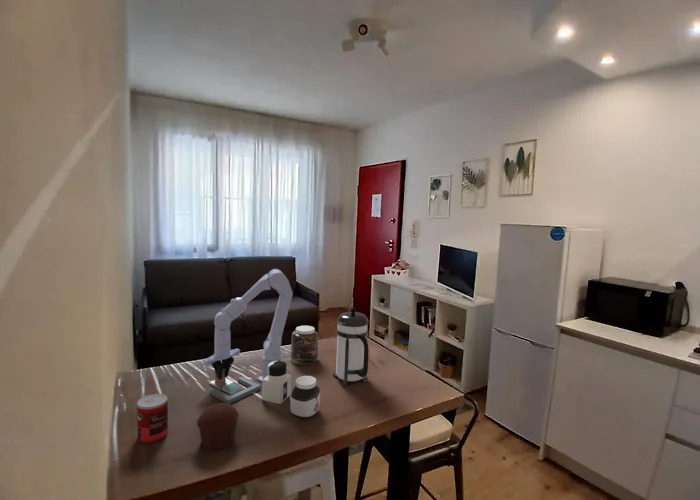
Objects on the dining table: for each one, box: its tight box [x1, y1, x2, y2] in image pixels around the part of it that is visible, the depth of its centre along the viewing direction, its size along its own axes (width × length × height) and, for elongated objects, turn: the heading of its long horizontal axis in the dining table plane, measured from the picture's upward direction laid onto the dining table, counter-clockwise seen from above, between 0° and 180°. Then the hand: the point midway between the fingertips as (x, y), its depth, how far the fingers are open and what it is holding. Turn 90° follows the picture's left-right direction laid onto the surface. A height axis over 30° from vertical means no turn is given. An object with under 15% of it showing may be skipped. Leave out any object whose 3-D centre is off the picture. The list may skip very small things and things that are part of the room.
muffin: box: [196, 402, 240, 451], centre depth 102 cm, size 12×11×10 cm
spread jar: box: [289, 375, 321, 420], centre depth 119 cm, size 12×11×12 cm
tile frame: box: [209, 376, 262, 405], centre depth 130 cm, size 11×14×2 cm
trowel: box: [209, 367, 235, 391], centre depth 135 cm, size 6×7×6 cm
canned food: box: [136, 393, 169, 444], centre depth 103 cm, size 8×8×11 cm
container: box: [261, 360, 292, 405], centre depth 127 cm, size 8×8×13 cm
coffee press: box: [332, 306, 370, 388], centre depth 142 cm, size 17×16×30 cm
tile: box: [222, 382, 243, 396], centre depth 132 cm, size 5×5×2 cm
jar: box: [290, 325, 319, 366], centre depth 160 cm, size 12×12×15 cm
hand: (222, 377), depth 135 cm, fingers closed on trowel
